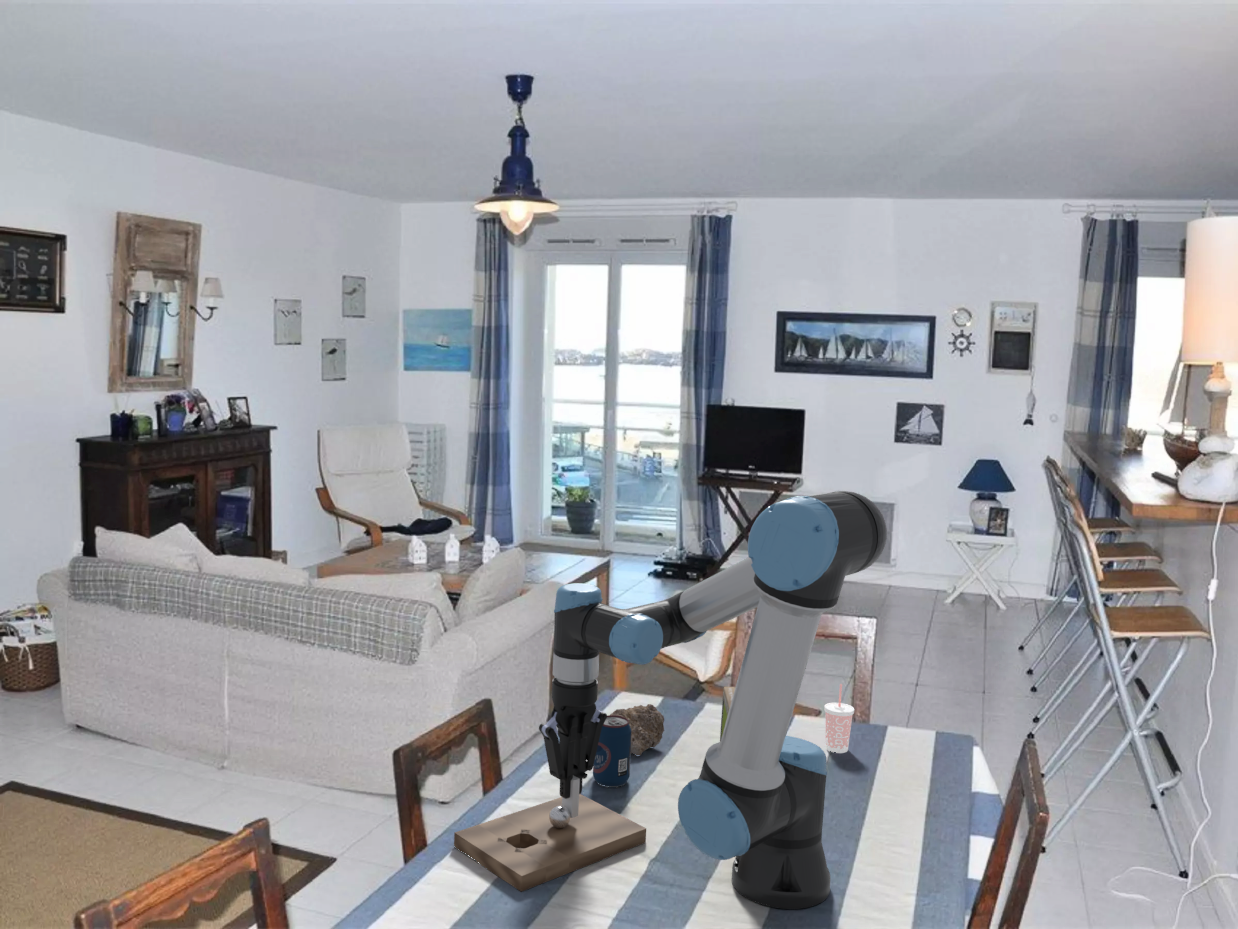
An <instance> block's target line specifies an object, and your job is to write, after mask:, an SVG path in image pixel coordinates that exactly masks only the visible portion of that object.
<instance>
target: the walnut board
mask: <svg viewBox="0 0 1238 929" xmlns="http://www.w3.org/2000/svg"><path fill="white" fill-rule="evenodd" d="M557 806H562V797H561V796H560V797H558V798H554V799H552V800H549V801H546V802H543V803H540V804H535V805H533V806H530V807H527V808H524V809H521V810H518V811H515V812H513V813H509V814H507V815H503V816H500V817H498V818H494V819H492V820H491V819H490V820H488V821H484V822H482V823H479V824H477V825H473V826H470V827H466V828H464V829H461V830H458V831H455V832H453V833H454V835H453V847H454V846H455V847H456V848H457V849H456V848H455V847H454V848H455V849H456V850H458V849H459V850H460V851H459V850H458V851H459V852H461V851H462V852H464V853H466V854H467V855H469V856H470V857H472V858H473V859H475V860H476V861H477V862H479V863H480V864H481V865H480V864H479V863H478V864H479V865H480V866H481V867H483V866H484V867H483V868H485V869H486V868H487V869H486V870H488V871H489V872H491V873H492V874H494V875H495V876H497V877H498V878H499V879H501V880H503V881H504V882H506V883H507V884H509V885H510V886H512V887H513V888H515V889H516V890H518V891H519V892H521V893H522V892H524V891H527V890H530V889H532V888H534V887H537V886H541V884H542V885H543V884H545V883H547V882H550V881H552V880H554V879H557V878H559V877H562V876H565V875H567V874H570V873H573V872H575V871H577V870H581V869H582V868H585V867H588V866H590V865H593V864H595V863H598V862H600V861H603V860H605V859H608V858H611V857H612V856H616V855H619V854H621V853H623V852H626V851H629V850H631V849H633V848H636V847H638V846H640V845H643V844H645V843H646V840H647V828H646V827H644V826H642V825H640V824H638V822H636V821H633V820H631V819H629V818H627V817H625V816H623V815H622V814H619V813H618V812H617V811H614V810H613V809H610V808H608V807H606V806H604V805H602V804H600V803H599V802H597V801H594V800H593V799H591V798H589V797H587V796H584V795H583V794H582V793H581V794H579V810H578V816H576V817H573V818H571V817H570V821H569V823H568V824H567V825H566V826H565V827H563V828H556V827H554V826H553V825H552V824H551V822H550V820H549V815H550V812H551V810H552V809H553V808H554V807H557ZM462 852H461V853H462ZM464 853H463V854H464ZM467 855H466V856H467ZM470 857H469V858H470ZM473 859H472V860H473ZM476 861H475V862H476ZM477 862H476V863H477Z"/></svg>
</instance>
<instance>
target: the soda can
mask: <svg viewBox="0 0 1238 929" xmlns="http://www.w3.org/2000/svg"><path fill="white" fill-rule="evenodd" d="M631 754H632V753H631V728H630V725H629V721H628V719H627V718H625V717H622V716H616V715H610V714H609V715H607V718H606V720H605V722H604V724H603V726H602V729H601V734H600V738H599V743H598V747H597V751H596V756H595V760H594V765H593V768H592V776H593V779H594V781H595V782H596V784H597V783H599V784H601V785H605V786H609V787H616V788H618V787H617V786H621V785H623V786H624V785H626V783H627V782H628V780H629V778H630V777H631V776H630V775H631V773H630V772H631ZM599 784H598V785H599ZM601 785H600V786H601ZM621 787H622V786H621Z"/></svg>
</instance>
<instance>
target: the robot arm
mask: <svg viewBox="0 0 1238 929" xmlns="http://www.w3.org/2000/svg"><path fill="white" fill-rule="evenodd" d="M887 530H888V528H887V525H886V520H885V517H884V516H883V513H882V512H881V510H880V509H879V507H878V506H877V505H876V504H875V503H874V502H873V501H871V500H870V499H869V498H868V497H866V496H864V495H862V494H859V493H857V492H853V491H847V490H842V491H839V490H838V491H834V492H828V493H821V494H816V495H798V496H797V495H796V496H791V497H788V498H786V499H783V500H781V501H777V502H775V503H772V504H771V505H768V507H766V508H765V509H764V510H763V511H762V512H760V513H759V515H758V516H757V517H756V519H755V521H754V522H753V524H752V526H751V528H750V532H749V534H748V540H747V554H748V557H746V558H744V559H741V561H739V562H736V563H735V564H733V565H731V566H729V567H726V568H725V569H723V570H721V571H719V572H717V573H715V574H712V575H711V576H710V577H708V578H705V579H704V580H701V581H699V582H698V583H696V584H694V585H692V586H690V587H688V588H686V589H684V590H683V591H680V592H679V593H676V594H674V595H672V596H670V597H668V598H666V599H664V600H663V599H662V600H658V601H656V602H651V603H647V604H642V605H638V606H634V607H630V608H618V607H614V606H610V605H608V604H605V603H602V602H603V600H604V599H603V596H602V589H601V588H599V587H598V586H597V585H594V584H589V583H581V582H579V583H577V582H575V583H567V584H566V583H565V584H562V585H561V586H560V587H558V589H557V591H556V594H555V604H554V609H553V613H554V624H553V625H554V629H553V630H554V631H553V657H552V659H553V660H552V676H554V677H553V678H552V683H551V700H552V704H553V708H552V711H551V713H550V716H551V718H550V719H549V720H548V721H547V722H546V723H541V724H539V726H538V730H539V731H540V733H541V735H542V736H543V742H544V748H545V753H546V758H547V765H548V769H549V774H550V775H551V776H552V777H555V779H557V780H558V779H559V796H560V797H562V806H563V807H565V808H567V809H568V811H569V812H570V817H571V818H573V817H576V816H578V810H579V794H581V795H582V792H583V779H586V778H588V773H586V772H587V771H589V772H591V771H593V765H594V760H595V756H596V751H597V747H598V743H599V738H600V734H601V729H602V726H603V724H604V722H605V720H606V718H607V716H608V715H607V713H606V712H603V711H601V710H599V709H598V708H597V705H596V702H597V701H598V690H599V688H598V687H599V685H598V684H599V681H598V677H599V671H600V670H599V669H600V668H599V667H600V666H599V664H600V654H604V655H607V656H609V657H612V658H615V659H618V660H619V661H621V662H625V663H627V664H628V663H629V664H635V665H647V664H650V663H651V662H652V661H653V659H654V658H655V657H657V656H658V655H659V653H660V651H661V649H665V648H667V647H671V646H676V645H679V644H683V643H684V644H686V643H689V642H693V641H695V640H697V639H700V638H701V637H703V636H704V635H705V634H706V633H707V632H708V631H709V630H711V629H714V628H716V627H718V626H720V625H723V624H724V623H727V622H729V621H731V620H734V619H735V618H737V617H740V616H741V615H744V614H746V613H748V612H750V611H753V610H755V609H756V612H755V614H754V618H753V621H752V626H751V630H750V633H749V636H748V639H747V644H746V648H745V650H744V651H745V652H744V655H743V658H742V661H741V666H740V668H739V669H740V670H739V673H738V677H737V681H736V684H735V686H734V687H735V691H734V694H733V698H732V702H731V705H730V709H729V713H728V716H727V720H726V723H725V727H724V731H723V734H722V738H721V742H720V741H718V742H715V743H713V744H712V745H710V746H709V747H708V749H707V750H706V753H705V756H704V760H703V763H702V767H701V771H700V773H699V777H698V778H697V779H695V778H694V779H692V780H690V781H688V783H687V784H685V785H684V787H683V788H682V790H680V793H679V796H678V800H677V812H678V818H679V821H680V824H681V826H682V827H683V829H684V832H685V835H686V836H687V838H688V839H689V841H690V842H691V844H692V845H693V846H694V847H695V848H696V849H697V850H698V851H699V852H700V853H702V854H703V855H705V856H707V857H708V858H709V857H710V858H711V859H714V860H720V861H724V860H725V861H726V860H730V859H733V858H734V860H733V863H732V870H731V883H732V885H733V887H734V889H735V890H736V891H737V892H738V893H739V894H740V895H742V896H743V897H745V898H746V899H748V900H749V901H752V902H755V903H757V904H760V905H762V906H765V907H771V908H776V909H782V910H783V909H784V910H798V909H806V908H812V907H815V906H817V905H819V904H821V903H823V902H824V901H826V899H828V896H829V895H830V892H831V874H830V870H829V868H828V864H827V859H826V856H825V854H826V853H825V850H824V847H823V840H822V836H823V824H824V823H823V822H824V809H825V808H824V807H825V797H826V784H827V783H826V782H827V776H828V771H827V754H826V753H825V751H824V750H823V749H822V748H821V747H820V746H819V745H818V744H816V743H813V742H811V741H809V740H805V739H802V738H799V737H795V736H791V735H787V732H788V730H789V727H790V723H791V719H792V716H793V713H794V710H795V706H796V703H797V700H798V697H799V694H800V693H799V692H800V690H801V686H802V682H803V679H804V675H805V672H806V669H807V666H808V662H809V659H810V656H811V652H812V649H813V645H814V642H815V638H816V634H817V633H818V632H817V631H818V628H819V625H820V622H821V618H822V614H824V613H827V612H829V611H830V610H832V609H834V608H835V607H836V606H837V604H838V601H839V598H840V595H841V591H842V589H843V588H842V587H843V584H844V581H845V578H846V576H847V577H848V576H851V575H854V574H856V573H860V572H861V571H864V570H867V569H868V568H870V567H871V566H873V565H874V563H875V562H877V561H878V559H879V558H880V557H881V555H882V554H883V552H884V549H885V548H886V544H887V539H888V538H887V537H888V531H887Z"/></svg>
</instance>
